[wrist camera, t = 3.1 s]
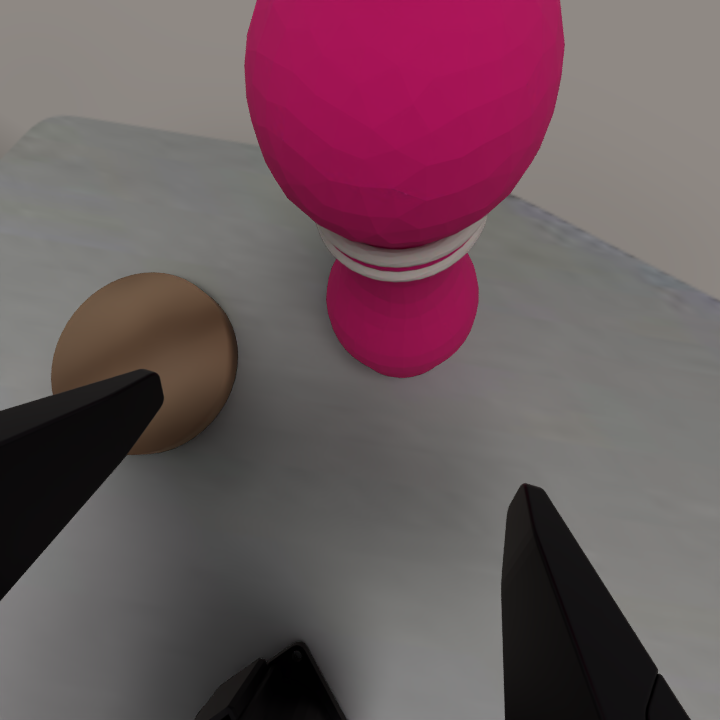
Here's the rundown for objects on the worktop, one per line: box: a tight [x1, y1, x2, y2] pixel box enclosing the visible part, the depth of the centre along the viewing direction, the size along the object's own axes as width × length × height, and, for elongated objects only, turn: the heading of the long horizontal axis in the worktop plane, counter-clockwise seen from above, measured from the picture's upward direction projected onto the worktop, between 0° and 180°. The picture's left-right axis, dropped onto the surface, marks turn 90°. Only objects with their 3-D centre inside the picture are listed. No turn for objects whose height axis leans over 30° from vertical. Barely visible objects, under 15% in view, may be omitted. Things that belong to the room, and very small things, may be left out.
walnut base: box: [51, 272, 238, 455], centre depth 24 cm, size 11×11×2 cm
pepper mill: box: [244, 0, 565, 378], centre depth 14 cm, size 7×7×20 cm
